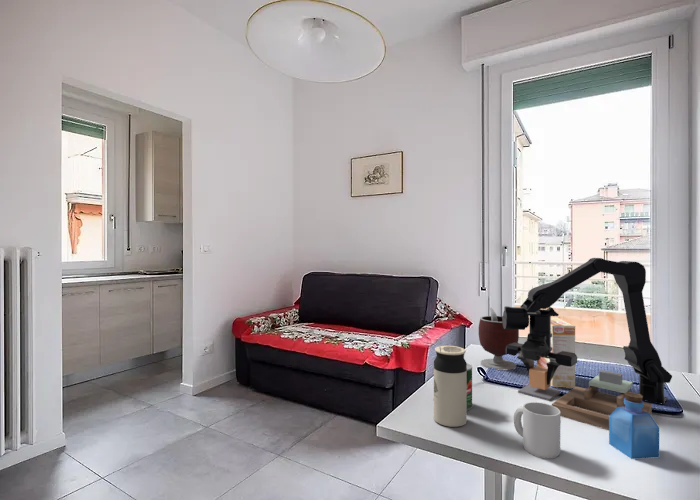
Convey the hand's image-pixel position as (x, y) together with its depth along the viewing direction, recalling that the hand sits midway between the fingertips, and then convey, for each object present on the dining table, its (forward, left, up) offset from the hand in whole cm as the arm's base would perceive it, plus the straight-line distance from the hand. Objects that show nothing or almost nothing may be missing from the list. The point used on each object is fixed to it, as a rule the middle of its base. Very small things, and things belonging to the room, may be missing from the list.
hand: (539, 382), depth 118 cm
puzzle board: (+4, +17, -3) cm, 18 cm away
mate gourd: (-18, -22, -3) cm, 29 cm away
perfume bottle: (+20, +27, -3) cm, 34 cm away
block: (0, 0, -1) cm, 1 cm away
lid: (-5, +17, +2) cm, 18 cm away
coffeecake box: (-15, -1, -3) cm, 15 cm away
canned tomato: (+26, -12, -3) cm, 29 cm away
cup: (+34, +12, -3) cm, 36 cm away
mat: (0, 0, -3) cm, 3 cm away
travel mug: (+36, -8, -3) cm, 37 cm away
